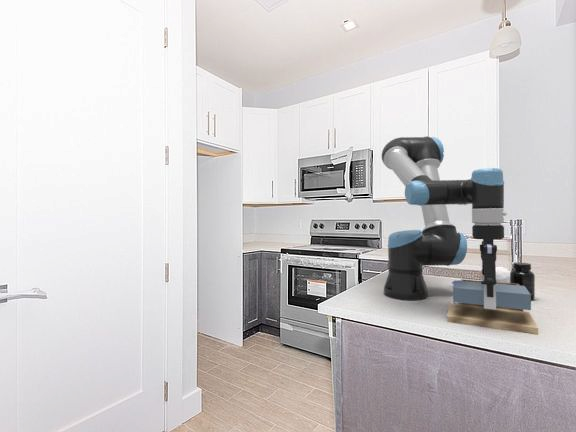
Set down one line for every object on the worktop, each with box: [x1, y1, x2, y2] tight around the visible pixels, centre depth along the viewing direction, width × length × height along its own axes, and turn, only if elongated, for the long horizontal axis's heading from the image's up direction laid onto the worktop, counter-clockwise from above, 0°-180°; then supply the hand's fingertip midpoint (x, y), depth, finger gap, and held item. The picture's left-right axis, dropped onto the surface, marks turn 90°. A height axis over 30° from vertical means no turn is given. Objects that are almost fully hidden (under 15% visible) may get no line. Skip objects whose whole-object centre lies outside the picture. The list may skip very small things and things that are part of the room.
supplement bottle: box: [509, 261, 536, 301], centre depth 109 cm, size 7×7×12 cm
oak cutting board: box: [446, 302, 539, 335], centre depth 89 cm, size 20×14×2 cm
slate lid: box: [452, 280, 532, 311], centre depth 89 cm, size 17×10×4 cm, turn 60°
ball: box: [496, 266, 511, 283], centre depth 127 cm, size 8×8×8 cm
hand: (488, 303), depth 89 cm, fingers closed on slate lid, 10 cm apart
